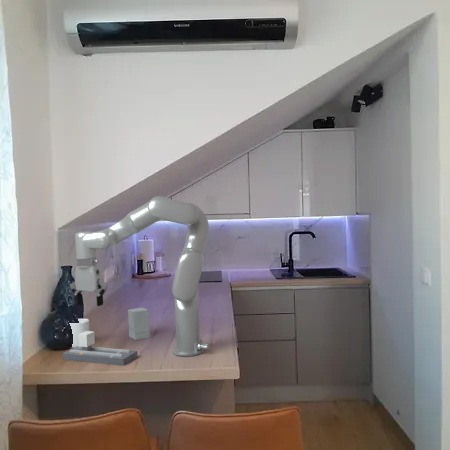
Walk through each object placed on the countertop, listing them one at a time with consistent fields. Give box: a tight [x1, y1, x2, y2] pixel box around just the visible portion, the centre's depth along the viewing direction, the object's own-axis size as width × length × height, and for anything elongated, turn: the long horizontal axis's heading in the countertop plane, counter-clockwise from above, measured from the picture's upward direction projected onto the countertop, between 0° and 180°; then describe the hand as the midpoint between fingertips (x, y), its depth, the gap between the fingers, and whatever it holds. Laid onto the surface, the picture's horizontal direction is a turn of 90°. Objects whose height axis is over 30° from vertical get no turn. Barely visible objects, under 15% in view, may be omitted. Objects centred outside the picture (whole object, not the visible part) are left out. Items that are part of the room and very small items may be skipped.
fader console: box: [62, 346, 138, 366], centre depth 188 cm, size 28×10×3 cm, turn 69°
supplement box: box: [127, 307, 151, 341], centre depth 216 cm, size 7×7×13 cm
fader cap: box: [78, 330, 96, 351], centre depth 190 cm, size 4×5×7 cm
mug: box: [69, 318, 90, 349], centre depth 206 cm, size 9×12×11 cm
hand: (89, 305), depth 190 cm, fingers open, 9 cm apart
